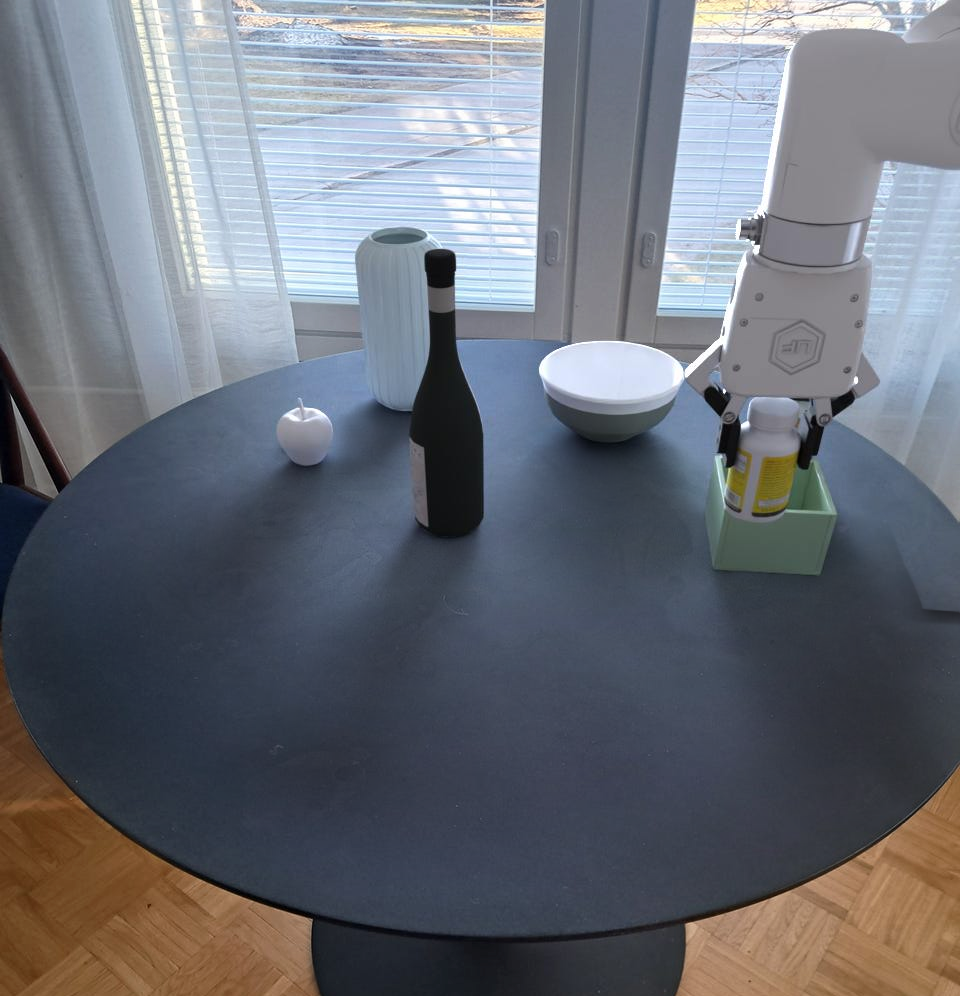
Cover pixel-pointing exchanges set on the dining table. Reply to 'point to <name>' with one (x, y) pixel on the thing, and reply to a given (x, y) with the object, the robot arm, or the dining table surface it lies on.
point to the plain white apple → (305, 435)
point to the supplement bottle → (764, 461)
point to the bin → (773, 528)
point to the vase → (394, 312)
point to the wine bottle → (445, 420)
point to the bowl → (610, 388)
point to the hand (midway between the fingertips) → (763, 459)
